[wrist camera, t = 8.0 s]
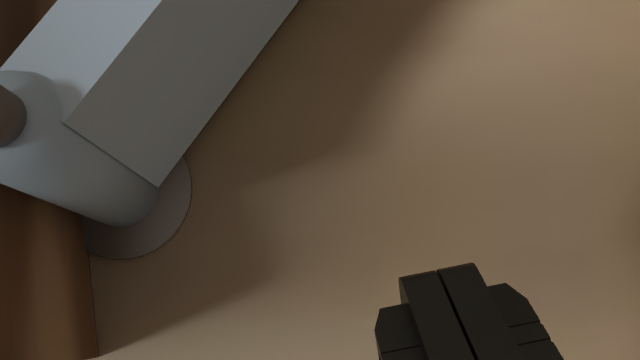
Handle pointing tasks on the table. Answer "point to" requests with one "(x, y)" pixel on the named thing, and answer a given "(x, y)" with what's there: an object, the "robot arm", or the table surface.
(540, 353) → the robot arm
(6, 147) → the grey pivot lever
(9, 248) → the frame rail
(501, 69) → the table surface
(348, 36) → the table surface
